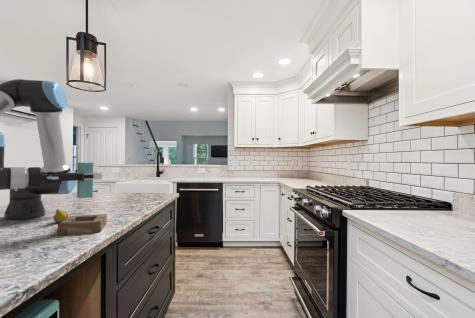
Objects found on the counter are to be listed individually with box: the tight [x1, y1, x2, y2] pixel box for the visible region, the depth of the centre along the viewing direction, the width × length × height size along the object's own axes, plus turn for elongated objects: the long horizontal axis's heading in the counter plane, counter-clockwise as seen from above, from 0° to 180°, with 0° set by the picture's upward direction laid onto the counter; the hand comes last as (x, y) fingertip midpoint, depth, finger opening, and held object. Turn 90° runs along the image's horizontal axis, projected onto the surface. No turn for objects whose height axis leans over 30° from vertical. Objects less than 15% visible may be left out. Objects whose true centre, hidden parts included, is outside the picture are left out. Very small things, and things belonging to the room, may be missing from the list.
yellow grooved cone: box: [53, 208, 69, 224], centre depth 108 cm, size 5×5×10 cm
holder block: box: [57, 213, 108, 236], centre depth 100 cm, size 14×14×4 cm
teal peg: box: [76, 162, 94, 199], centre depth 100 cm, size 4×4×14 cm
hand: (99, 175), depth 103 cm, fingers closed on teal peg, 4 cm apart
